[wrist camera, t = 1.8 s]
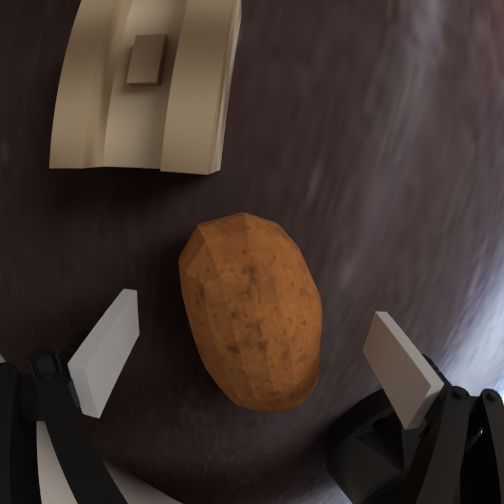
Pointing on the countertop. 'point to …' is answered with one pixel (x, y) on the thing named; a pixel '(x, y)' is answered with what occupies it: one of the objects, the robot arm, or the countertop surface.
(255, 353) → the potato
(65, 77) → the cradle
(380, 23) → the countertop surface
